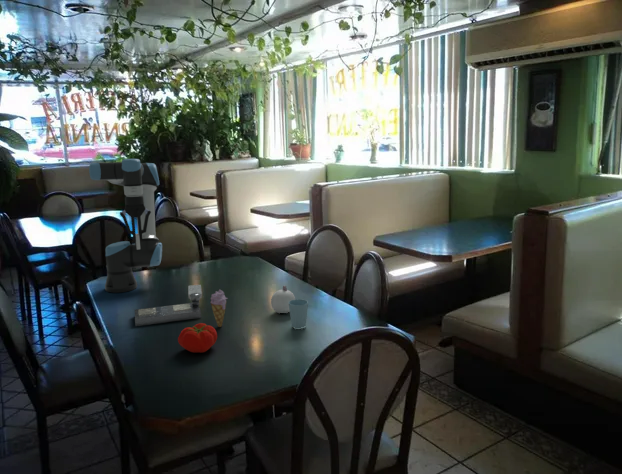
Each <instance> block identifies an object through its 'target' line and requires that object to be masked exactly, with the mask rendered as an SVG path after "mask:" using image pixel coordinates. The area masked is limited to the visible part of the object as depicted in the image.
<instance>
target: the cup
mask: <svg viewBox="0 0 622 474" xmlns="http://www.w3.org/2000/svg"><path fill="white" fill-rule="evenodd" d="M308 307H309V301H308V300H306V299H303V298H302V299H301V298H297V299H296V298H295V300H291V301H289V309H290V312H289V315H290V323H291V327H292V326H293V327H295V328H301V327H304V326H306V327H307V319H308V309H309V308H308Z"/></svg>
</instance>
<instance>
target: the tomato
mask: <svg viewBox="0 0 622 474" xmlns="http://www.w3.org/2000/svg"><path fill="white" fill-rule="evenodd" d="M217 339H218V332H217V330H216V329H215V327H213V326H212V325H208V324H206V323H203V322H199V323H197V324H195V325H193V326H192V327H190V326H189V327H188V326H187V327H184V329H182V330H181V332H180V333H179V336H178V337H177V342H178V344H179V345H180V347H182V348H183V349H185V350H186V351H188V352H190V353H200V354H201V353H206V352H207V351H208V350H210V349H211V347H212V346H214V345H215V344H216V342H217Z"/></svg>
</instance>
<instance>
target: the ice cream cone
mask: <svg viewBox="0 0 622 474" xmlns="http://www.w3.org/2000/svg"><path fill="white" fill-rule="evenodd" d="M228 299H229V298H228V297H226V295H225V292H224V291H223V290H221V289H218V291H217V290H216V291H215V293H212V294H211V297H210V300H211V301H210V305H211V309H212V313H213V316H214V318H215V319H214V320H215V322H216V325H217V327H218V328H222V326H223V321H224V318H225V314H226V308H227V300H228Z"/></svg>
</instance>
